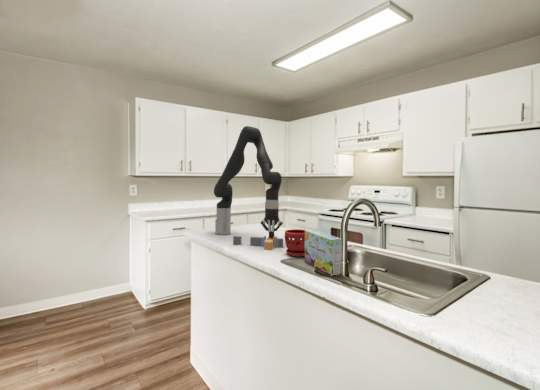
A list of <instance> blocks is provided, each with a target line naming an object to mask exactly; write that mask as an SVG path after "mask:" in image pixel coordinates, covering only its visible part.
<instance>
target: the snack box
mask: <svg viewBox="0 0 540 390" xmlns="http://www.w3.org/2000/svg"><path fill="white" fill-rule="evenodd" d="M304 230H305V256H304V260H303V261H304V263H306V264H308V265H310V266H311V267H314V268H315V267H319V268H321V269H323V270H325V271H327V272H330V273H332V274H337V275H336V276H340V275H342V265H343V264H342V263H343V262H342V255H343V239H342V238H340V237H337V236H334V235H332V234H329V233H325V232H323V231H320V230H316V229H304Z"/></svg>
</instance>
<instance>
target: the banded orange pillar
mask: <svg viewBox="0 0 540 390" xmlns="http://www.w3.org/2000/svg"><path fill="white" fill-rule="evenodd" d="M275 237H277V236H275V235H274V237H273V238H270V237H269V236H268V237H266V240H265V242H264V247H263V250H266V251H272V250H273V249H274V247H275Z"/></svg>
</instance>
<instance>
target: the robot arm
mask: <svg viewBox="0 0 540 390" xmlns="http://www.w3.org/2000/svg"><path fill="white" fill-rule="evenodd" d="M248 143H251V144H253V145H254V147H255V148H256V161H257V164H258V165H259V168H260V170H261V171H260V172H261V176H262V181H263V183H265V184H266V185H269V186H270V188H268V189H265V190H266V191H265V203H264V204H265V205H264V218H263V220H262V221H260V224H261V226H262V227H263V229H264V230H265V231H267V232H268V237H270V238H273V237H274V236H275V232H277V231H278V230H279V229H280V227H281V226H282V225H283V224H284V223H283V221H281V220H280V217H279V212H280V211H279V208H280V206H279V205H280V202H279V191H280V188H281V184H282V175H281V173H280V172H278V171H271V170H272V169H273V168H274V165H273V162H272V160H271V159H270V156H269V154H268V152H267V150H266V146H265V143H264V139H263V136H262V133H261V131H260V129H259V128H257V127H254V126H250V125H249V126H248V125H245V126H244V127H243V128H242V129H241V130H240V133H239V136H238V139H237V142H236V144H235V147H234V149H233V151H232V153H231V155H230V157H229V159H228V160H227V161H228V162H227V164H226V166H225V168H224V169H223V171H222V173H221V176H220V177H219V179H218V181H217V182H216V183H215V185H214V188H213V195H214V196H215V197H216V198H221V200H220V201H218V202H217V203H216V218H215V220H214V221H215V223H214V224H215V225H214V226H215V228H214V229H215V231H214V232H215V235H221V236H222V235H223V236H225V235H226V236H227V235H230V234H231V231H232V230H231V228H232V227H231V225H232V224H231V223H232V222H231V221H232V220H231V219H232V218H231V216H232V215H231V214H232V213H231V211H232V210H231V209H232V203H233V187H232V185H231V184H230V183H229V182H230V181H231V180H233V179H234V178H235V177H236V176H237V175H238V174H239V173H240V172H241V170H242V168H243V167H244V164H245V148H246V147H247V144H248ZM277 224H278V225H277ZM276 225H277V226H276Z"/></svg>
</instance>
